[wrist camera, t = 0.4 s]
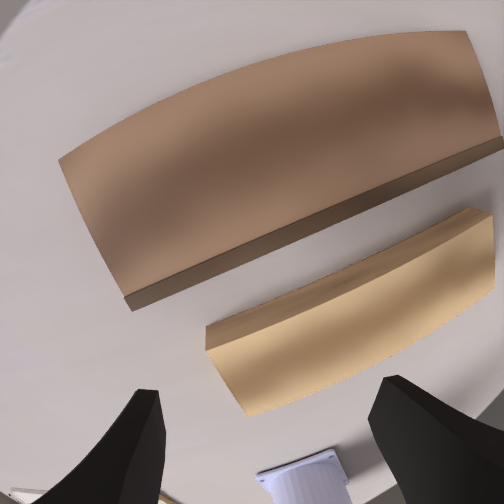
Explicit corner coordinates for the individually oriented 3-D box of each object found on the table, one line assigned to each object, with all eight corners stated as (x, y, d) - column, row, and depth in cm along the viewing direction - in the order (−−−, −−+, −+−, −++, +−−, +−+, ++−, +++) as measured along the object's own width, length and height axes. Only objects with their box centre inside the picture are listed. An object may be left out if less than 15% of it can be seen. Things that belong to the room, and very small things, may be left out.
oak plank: (470, 275, 20) (494, 288, 17) (243, 387, 20) (248, 417, 17) (464, 206, 18) (492, 214, 15) (206, 323, 18) (205, 351, 15)
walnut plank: (474, 145, 16) (504, 147, 13) (144, 286, 17) (132, 311, 14) (438, 40, 14) (467, 30, 11) (83, 158, 14) (56, 160, 11)
